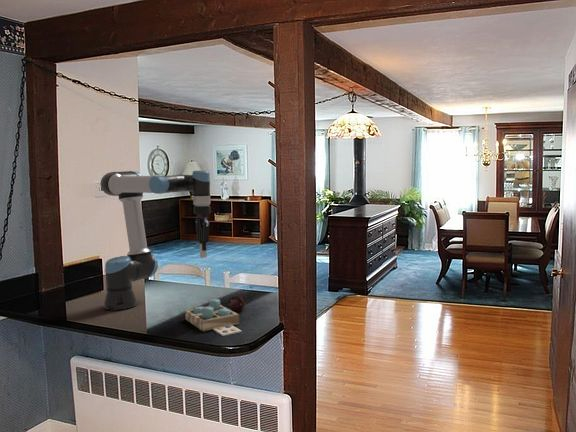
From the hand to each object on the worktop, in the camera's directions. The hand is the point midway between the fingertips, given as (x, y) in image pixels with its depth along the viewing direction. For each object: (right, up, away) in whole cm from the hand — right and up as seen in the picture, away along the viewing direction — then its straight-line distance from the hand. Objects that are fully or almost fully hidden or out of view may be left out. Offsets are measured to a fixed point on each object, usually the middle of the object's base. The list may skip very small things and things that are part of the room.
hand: (203, 257), depth 232 cm
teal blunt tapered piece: (+11, -25, -16) cm, 32 cm away
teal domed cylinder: (+5, -24, -20) cm, 32 cm away
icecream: (+15, -25, +1) cm, 29 cm away
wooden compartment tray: (+6, -26, -14) cm, 30 cm away
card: (+14, -27, -26) cm, 40 cm away
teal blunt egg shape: (+6, -23, -8) cm, 25 cm away
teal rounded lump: (0, -25, -12) cm, 28 cm away
